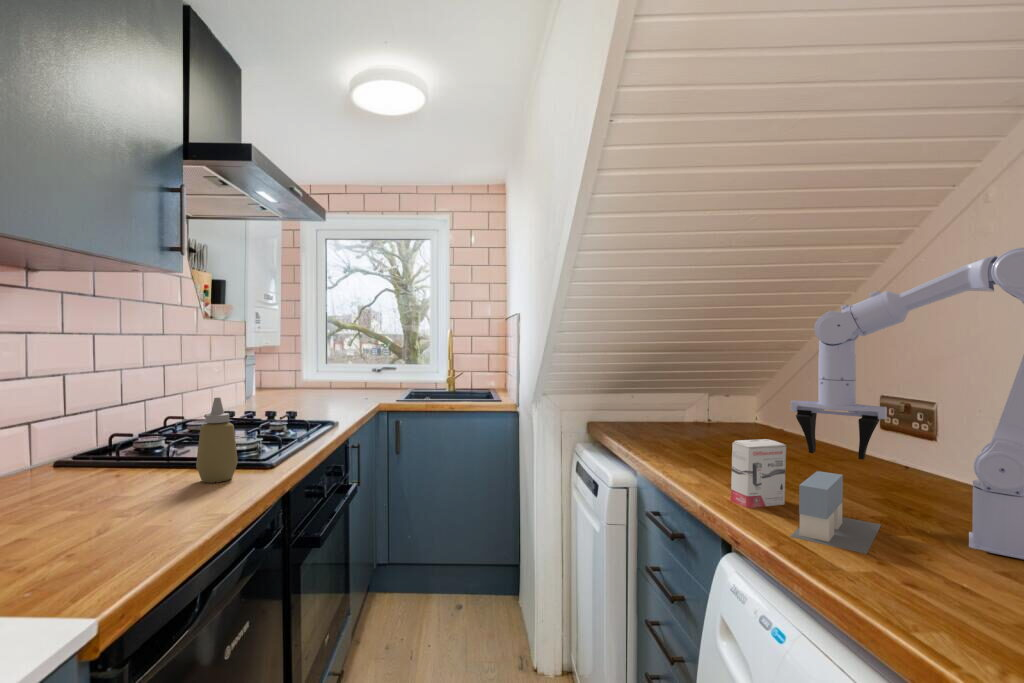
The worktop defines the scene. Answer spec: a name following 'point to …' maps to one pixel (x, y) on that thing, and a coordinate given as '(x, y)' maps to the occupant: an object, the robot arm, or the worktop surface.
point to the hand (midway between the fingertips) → (836, 455)
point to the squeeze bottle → (216, 446)
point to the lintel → (820, 494)
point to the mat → (849, 535)
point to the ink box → (758, 473)
